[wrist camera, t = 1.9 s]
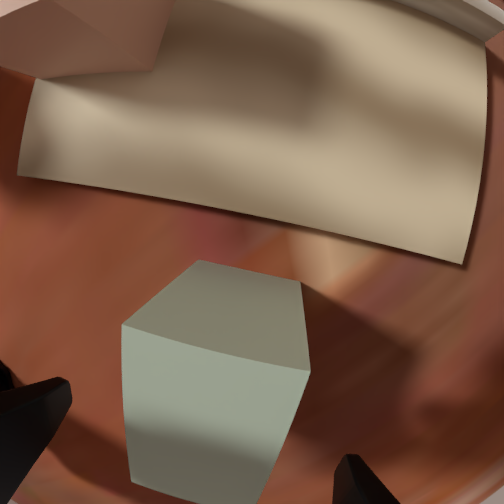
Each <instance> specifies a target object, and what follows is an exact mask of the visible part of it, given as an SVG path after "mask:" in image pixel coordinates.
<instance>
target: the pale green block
mask: <svg viewBox="0 0 504 504" xmlns="http://www.w3.org/2000/svg"><path fill="white" fill-rule="evenodd" d="M310 372H311V369H310V360H309V350H308V341H307V333H306V324H305V316H304V308H303V300H302V292H301V284H300V281H295V280H290V279H286V278H281V277H276V276H271V275H267V274H262V273H258V272H253V271H248V270H244V269H239V268H235V267H230V266H226V265H221V264H217V263H212V262H208V261H203V260H197V261H196V262H195V263H194V264H193V265H191V266H190V267H189V268H188V269H187V270H185V271H184V272H183V273H182V274H181V275H179V276H178V277H177V278H176V279H175V280H173V281H172V282H171V283H170V284H169V285H167V286H166V287H165V288H164V289H163V290H161V291H160V292H159V293H158V294H157V295H155V296H154V297H153V298H152V299H151V300H150V301H148V302H147V303H146V304H145V305H144V306H143V307H141V308H140V309H139V310H138V311H137V312H136V313H134V314H133V315H132V316H131V317H130V318H129V319H127V320H126V321H125V322H124V323H123V324H122V389H123V408H124V422H125V434H126V444H127V453H128V461H129V469H130V476H131V482H134V483H136V484H139V485H141V486H144V487H147V488H150V489H153V490H155V491H158V492H161V493H164V494H168V495H171V496H174V497H177V498H181V499H184V500H188V501H191V502H195V503H199V504H256V503H257V501H258V499H259V497H260V495H261V493H262V491H263V489H264V487H265V484H266V482H267V480H268V478H269V476H270V473H271V471H272V469H273V467H274V464H275V462H276V460H277V457H278V455H279V453H280V450H281V448H282V446H283V443H284V441H285V438H286V436H287V433H288V431H289V428H290V426H291V423H292V421H293V418H294V416H295V413H296V411H297V408H298V405H299V403H300V400H301V397H302V394H303V392H304V389H305V386H306V383H307V381H308V378H309V375H310Z"/></svg>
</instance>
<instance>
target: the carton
mask: <svg viewBox="0 0 504 504" xmlns="http://www.w3.org/2000/svg"><path fill="white" fill-rule="evenodd" d="M174 3H175V0H0V67H4V68H7V69H10V70H13V71H17V72H20V73H23V74H26V75H29V76H32V77H35V78H38V79H47V78H55V77H62V76H71V75H81V74H93V73H108V72H140V71H153V67H154V63H155V60H156V57H157V53H158V50H159V47H160V44H161V40H162V37H163V34H164V31H165V28H166V25H167V22H168V19H169V17H170V14H171V11H172V8H173V5H174Z"/></svg>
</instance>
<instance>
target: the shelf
mask: <svg viewBox="0 0 504 504" xmlns="http://www.w3.org/2000/svg"><path fill="white" fill-rule="evenodd" d="M502 30H504V11H503V10H502V9H500V8H499V7H497V6H496V5H494V4H492V3H491V2H489V1H487V0H175V3H174V5H173V8H172V11H171V14H170V17H169V19H168V22H167V25H166V28H165V31H164V34H163V37H162V40H161V44H160V47H159V50H158V53H157V57H156V60H155V63H154V67H153V71H140V72H108V73H93V74H81V75H71V76H62V77H55V78H47V79H38V78H36V80H35V83H34V87H33V91H32V95H31V99H30V103H29V107H28V111H27V116H26V120H25V125H24V130H23V136H22V142H21V148H20V154H19V161H18V169H17V175H18V176H26V177H34V178H41V179H48V180H55V181H62V182H69V183H76V184H83V185H89V186H96V187H102V188H108V189H114V190H121V191H127V192H133V193H138V194H144V195H150V196H156V197H162V198H167V199H173V200H178V201H184V202H189V203H194V204H200V205H205V206H210V207H215V208H221V209H226V210H231V211H236V212H241V213H246V214H251V215H255V216H260V217H265V218H270V219H275V220H279V221H284V222H289V223H293V224H298V225H303V226H307V227H312V228H316V229H321V230H325V231H329V232H334V233H338V234H342V235H347V236H351V237H355V238H360V239H364V240H368V241H372V242H376V243H380V244H384V245H388V246H393V247H397V248H401V249H405V250H408V251H412V252H416V253H420V254H424V255H428V256H432V257H436V258H439V259H443V260H447V261H451V262H454V263H458V264H462V262H463V259H464V255H465V251H466V248H467V244H468V240H469V236H470V231H471V227H472V222H473V218H474V213H475V208H476V202H477V197H478V191H479V185H480V178H481V171H482V163H483V155H484V145H485V132H486V114H487V68H486V51H485V42H486V41H487V40H489V39H490V38H492V37H493V36H495V35H496V34H498V33H499V32H501V31H502Z"/></svg>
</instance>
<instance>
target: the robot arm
mask: <svg viewBox="0 0 504 504" xmlns="http://www.w3.org/2000/svg"><path fill="white" fill-rule="evenodd" d="M71 404H72V394H71V388H70V383H69V381H67V380H65V379H63V378H61V377H55V378H51V379H48V380H44V381H41V382H37V383H33V384H30V385H26V386H22V387H19V388H15V389H14V388H13V385H12V381H11V377H10V374H9V371H8V370H7V368H6V367H4V366H3V365H1V364H0V504H7V503H8V502H9V500H10V499H11V497H12V496H13V494H14V493H15V491H16V490H17V488H18V487H19V485H20V484H21V482H22V481H23V479H24V478H25V476H26V475H27V473H28V472H29V471H30V469H31V468H32V466H33V465H34V463H35V462H36V460H37V459H38V458H39V456H40V455H41V453H42V452H43V451H44V449H45V448H46V446H47V445H48V444H49V442H50V441H51V439H52V438H53V436H54V435H55V433H56V431H57V429H58V428H59V426H60V424H61V422H62V420H63V419H64V417H65V415H66V413H67V411H68V410H69V408H70V406H71ZM332 504H400V503H399V501H398V500H397V499H396V498H395V497H394V496H393V495H392V493H391V492H390V491H389V490H388V489H387V488H386V487H385V485H384V484H383V483H382V482H381V481H380V480H379V478H378V477H377V476H376V475H375V474H374V473H373V471H372V470H371V469H370V468H369V467H368V466H367V464H366V463H365V462H364V461H363V460H362V458H361V457H360V456H359V455H357V454H346V455H344V457H343V458H342V460H341V461H340V463H339V465H338V466H337V468H336V470H335V473H334V486H333V500H332Z"/></svg>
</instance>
